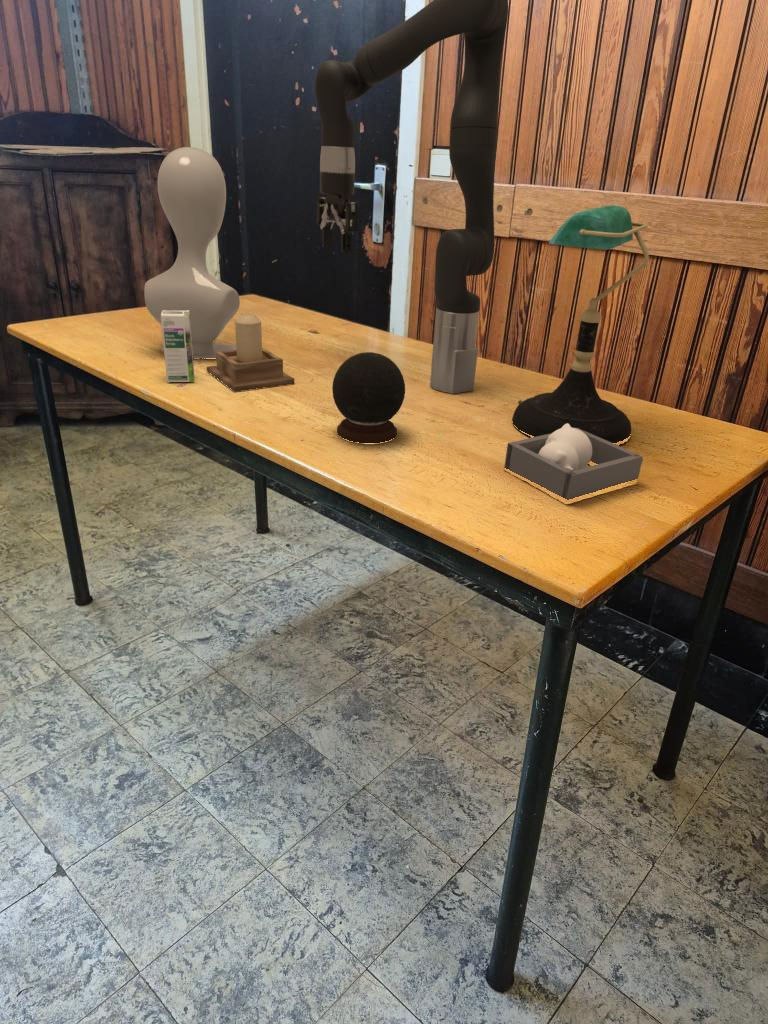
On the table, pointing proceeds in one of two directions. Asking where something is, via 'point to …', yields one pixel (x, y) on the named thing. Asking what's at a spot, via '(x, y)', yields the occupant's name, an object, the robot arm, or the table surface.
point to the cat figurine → (568, 448)
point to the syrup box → (177, 346)
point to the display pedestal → (249, 371)
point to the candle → (248, 338)
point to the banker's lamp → (584, 340)
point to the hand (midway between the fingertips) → (336, 249)
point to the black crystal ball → (368, 397)
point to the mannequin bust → (193, 249)
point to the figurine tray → (569, 484)
